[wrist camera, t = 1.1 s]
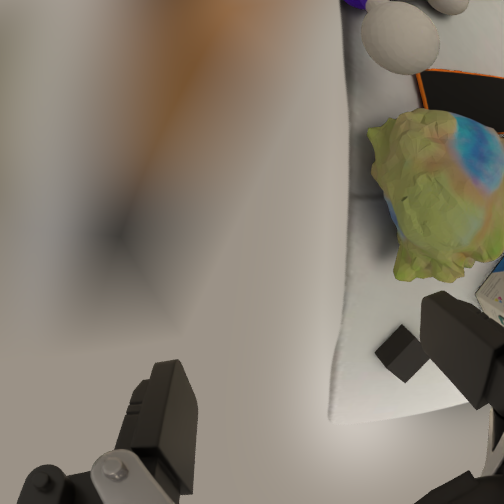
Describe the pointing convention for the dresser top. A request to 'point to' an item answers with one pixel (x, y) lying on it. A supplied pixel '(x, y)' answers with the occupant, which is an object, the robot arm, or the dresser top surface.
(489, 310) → the ink box
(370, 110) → the dresser top surface
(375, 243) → the dresser top surface
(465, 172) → the decorative rock
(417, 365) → the small pad
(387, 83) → the dresser top surface
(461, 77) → the smartphone
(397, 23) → the molecular model
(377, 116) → the dresser top surface
